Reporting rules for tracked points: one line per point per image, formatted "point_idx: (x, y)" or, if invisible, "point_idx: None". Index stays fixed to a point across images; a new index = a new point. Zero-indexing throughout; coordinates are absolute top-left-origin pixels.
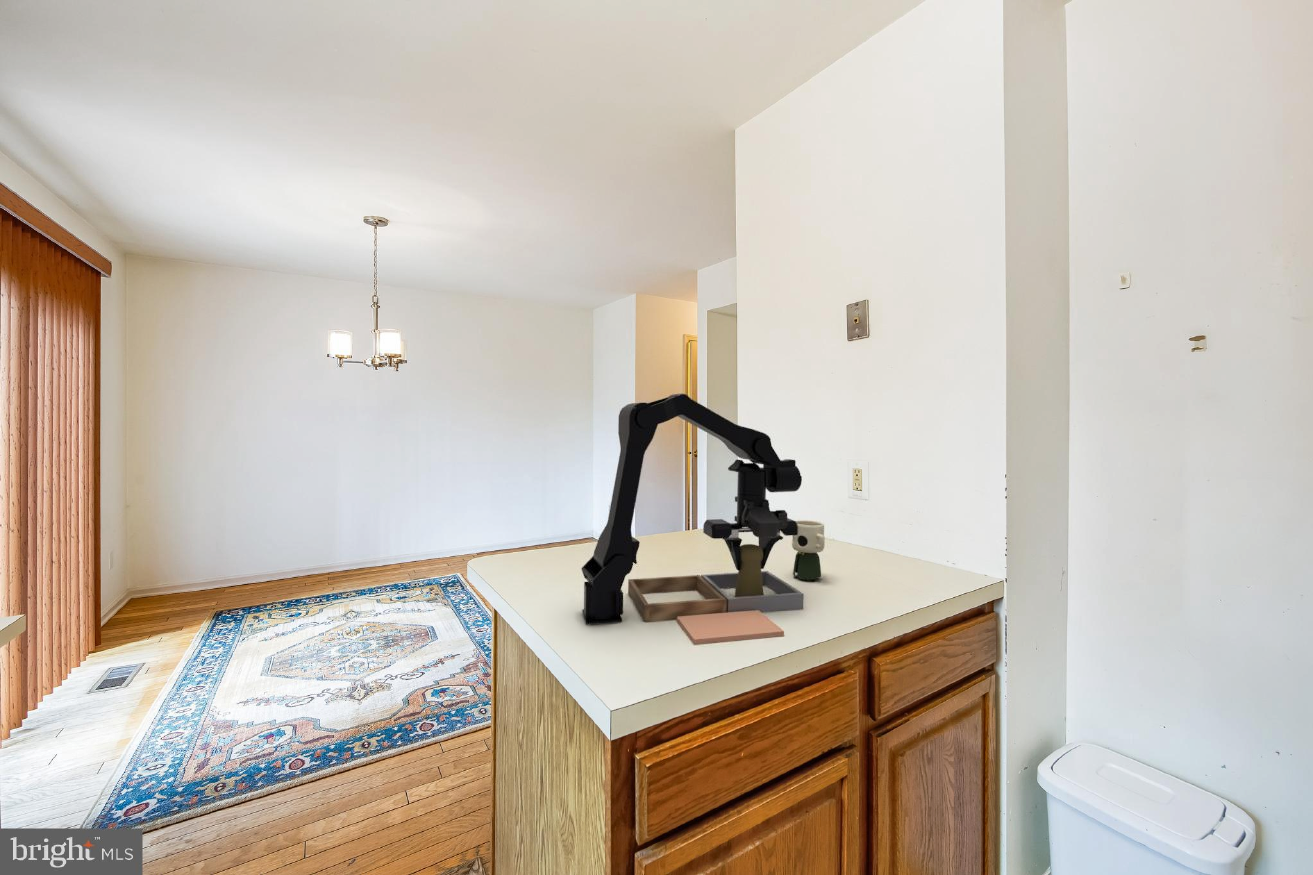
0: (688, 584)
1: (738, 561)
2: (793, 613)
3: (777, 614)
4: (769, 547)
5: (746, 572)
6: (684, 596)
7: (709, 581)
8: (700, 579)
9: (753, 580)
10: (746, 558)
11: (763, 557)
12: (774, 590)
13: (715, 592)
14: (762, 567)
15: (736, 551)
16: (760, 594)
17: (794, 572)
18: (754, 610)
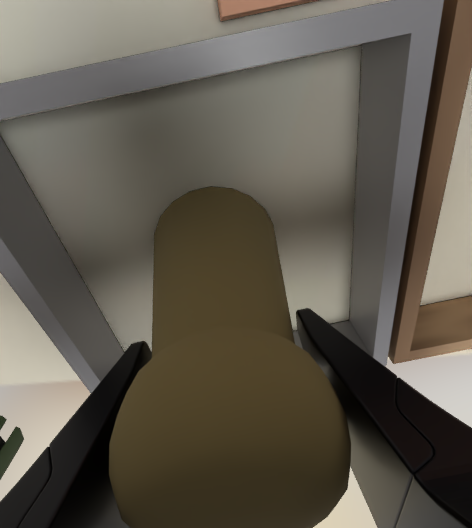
0: (424, 322)
1: (336, 344)
2: (12, 28)
3: (110, 14)
4: (10, 524)
5: (261, 282)
6: (450, 259)
7: (392, 301)
8: (416, 320)
9: (214, 245)
10: (292, 352)
11: (116, 408)
12: (100, 316)
13: (450, 142)
14: (139, 346)
15: (419, 414)
16: (174, 218)
17: (11, 441)
18: (247, 7)
